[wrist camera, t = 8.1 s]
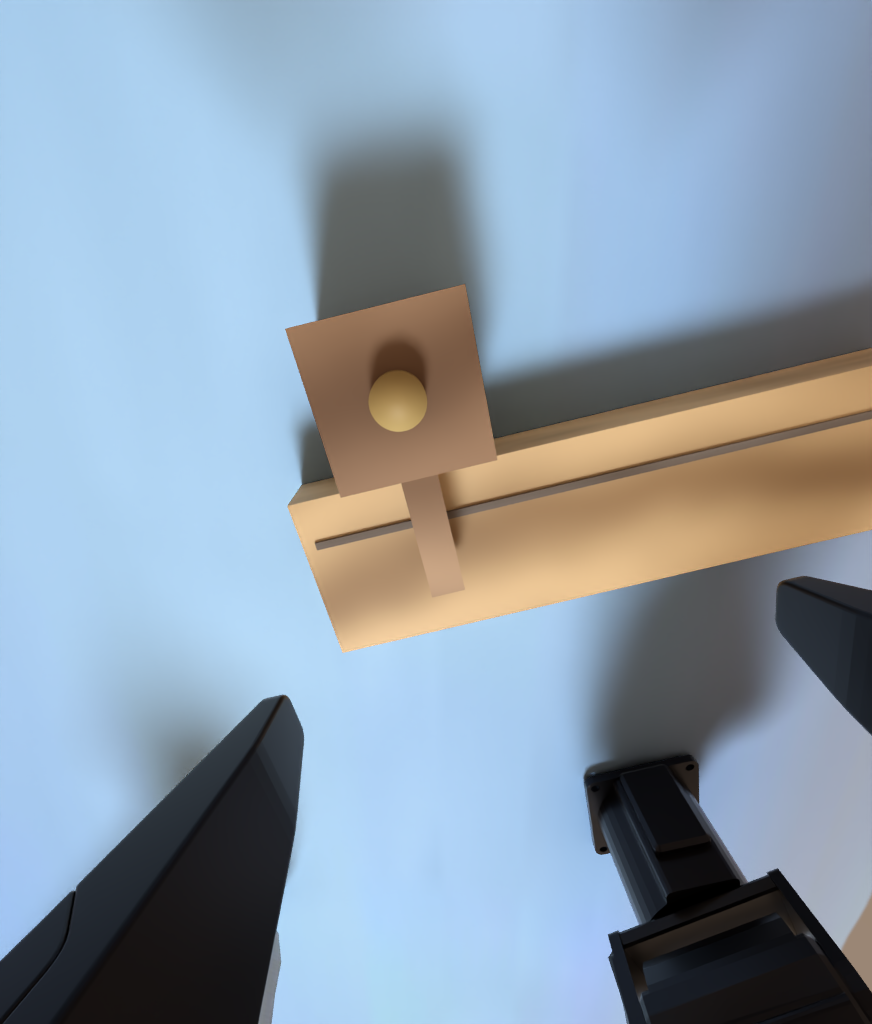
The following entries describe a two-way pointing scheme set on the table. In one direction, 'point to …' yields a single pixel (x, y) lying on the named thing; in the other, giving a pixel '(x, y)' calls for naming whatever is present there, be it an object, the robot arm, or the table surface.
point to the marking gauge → (401, 408)
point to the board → (607, 503)
